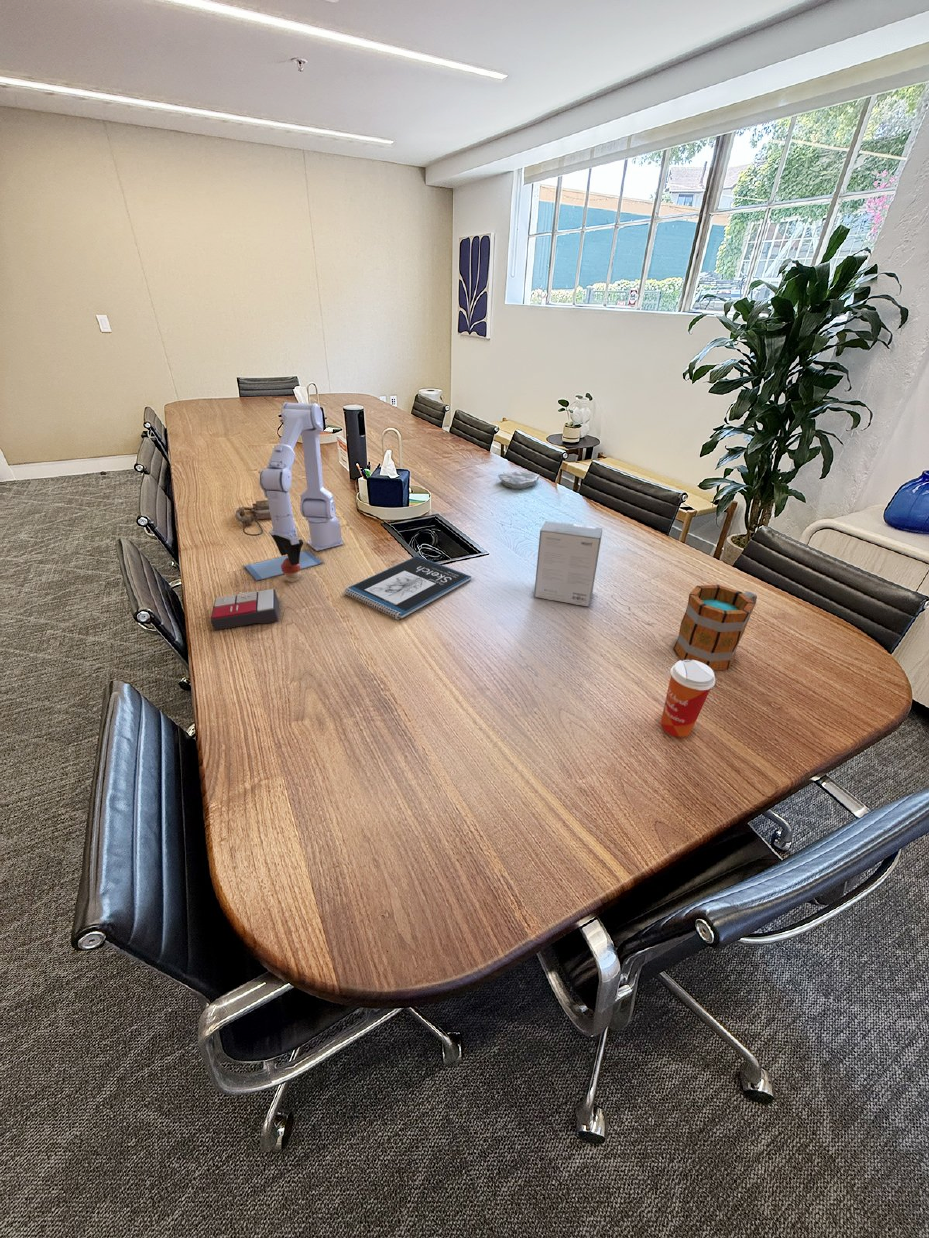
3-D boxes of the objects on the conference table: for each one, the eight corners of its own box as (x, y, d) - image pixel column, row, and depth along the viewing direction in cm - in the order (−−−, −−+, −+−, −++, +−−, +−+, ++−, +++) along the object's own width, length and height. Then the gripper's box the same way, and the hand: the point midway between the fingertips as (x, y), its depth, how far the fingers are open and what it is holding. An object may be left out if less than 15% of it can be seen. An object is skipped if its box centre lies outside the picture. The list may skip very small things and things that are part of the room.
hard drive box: (592, 594, 143) (604, 528, 133) (589, 607, 137) (601, 538, 127) (538, 585, 148) (545, 519, 137) (532, 597, 141) (539, 529, 131)
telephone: (239, 540, 169) (236, 528, 167) (235, 508, 195) (233, 497, 192) (286, 536, 174) (285, 524, 172) (276, 505, 200) (275, 494, 198)
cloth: (308, 551, 164) (308, 550, 164) (322, 563, 157) (322, 562, 156) (244, 567, 154) (244, 566, 153) (256, 581, 146) (256, 580, 146)
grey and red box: (213, 596, 131) (274, 586, 135) (218, 610, 133) (278, 600, 137) (209, 618, 122) (274, 606, 126) (214, 632, 125) (278, 621, 128)
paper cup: (648, 714, 102) (665, 658, 95) (685, 712, 103) (704, 656, 96) (665, 743, 96) (683, 685, 88) (704, 741, 96) (726, 683, 89)
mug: (707, 678, 113) (728, 620, 105) (660, 646, 122) (675, 592, 114) (763, 654, 121) (786, 599, 113) (715, 626, 131) (733, 574, 123)
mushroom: (298, 573, 151) (294, 552, 147) (305, 579, 147) (301, 559, 144) (280, 577, 148) (276, 557, 145) (287, 584, 145) (283, 563, 141)
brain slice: (512, 475, 239) (512, 468, 237) (544, 482, 231) (545, 475, 229) (489, 485, 225) (489, 478, 224) (522, 493, 217) (523, 486, 215)
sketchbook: (471, 580, 150) (471, 574, 148) (398, 622, 129) (398, 615, 128) (417, 559, 161) (417, 553, 159) (342, 594, 140) (341, 588, 139)
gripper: (257, 508, 140) (266, 553, 147) (276, 525, 130) (285, 572, 138) (282, 503, 144) (290, 547, 151) (303, 519, 134) (310, 565, 141)
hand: (289, 559), depth 145 cm, fingers open, 7 cm apart
